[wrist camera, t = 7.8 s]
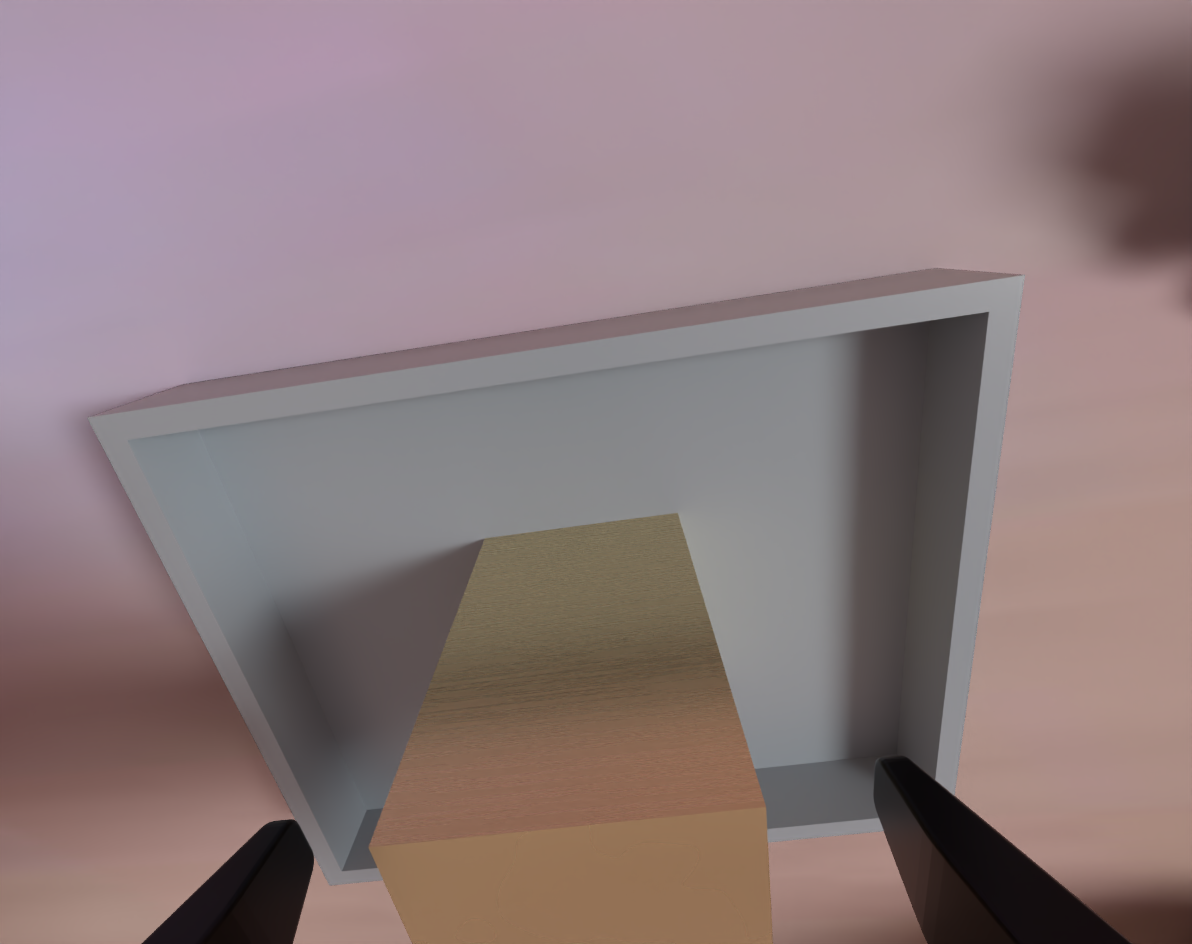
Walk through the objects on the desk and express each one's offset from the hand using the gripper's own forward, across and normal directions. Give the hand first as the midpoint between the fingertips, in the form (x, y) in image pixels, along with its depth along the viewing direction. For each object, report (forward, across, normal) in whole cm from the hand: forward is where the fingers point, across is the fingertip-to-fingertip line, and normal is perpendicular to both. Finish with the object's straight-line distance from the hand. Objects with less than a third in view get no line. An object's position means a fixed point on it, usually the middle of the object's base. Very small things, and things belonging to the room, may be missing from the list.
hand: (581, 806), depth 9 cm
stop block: (+5, 0, 0) cm, 5 cm away
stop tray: (+6, 0, 0) cm, 6 cm away
